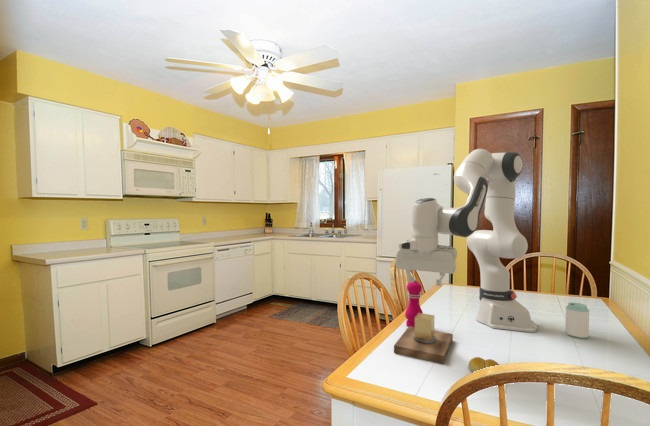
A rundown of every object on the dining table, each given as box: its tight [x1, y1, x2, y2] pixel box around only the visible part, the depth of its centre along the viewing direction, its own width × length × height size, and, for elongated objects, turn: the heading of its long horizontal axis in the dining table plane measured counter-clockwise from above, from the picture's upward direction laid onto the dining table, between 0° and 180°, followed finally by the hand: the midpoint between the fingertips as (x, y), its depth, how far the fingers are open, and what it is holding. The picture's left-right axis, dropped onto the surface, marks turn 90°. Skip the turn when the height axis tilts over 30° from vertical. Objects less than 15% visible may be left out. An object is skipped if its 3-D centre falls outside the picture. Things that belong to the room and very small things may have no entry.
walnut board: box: [393, 326, 454, 365], centre depth 114 cm, size 16×20×10 cm
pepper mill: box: [404, 277, 424, 328], centre depth 134 cm, size 7×7×20 cm
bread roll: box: [468, 356, 500, 373], centre depth 97 cm, size 8×9×4 cm
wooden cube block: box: [415, 313, 435, 340], centre depth 114 cm, size 6×6×7 cm
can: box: [564, 301, 590, 340], centre depth 124 cm, size 7×7×12 cm
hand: (424, 283), depth 114 cm, fingers open, 8 cm apart
